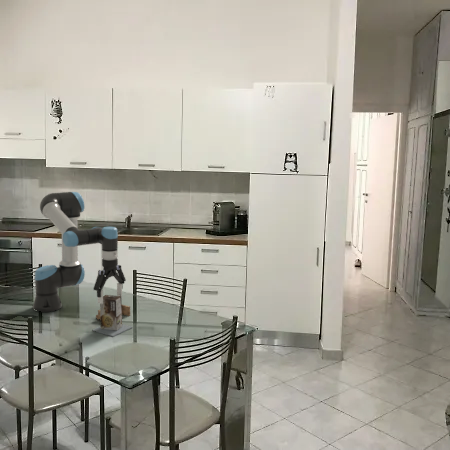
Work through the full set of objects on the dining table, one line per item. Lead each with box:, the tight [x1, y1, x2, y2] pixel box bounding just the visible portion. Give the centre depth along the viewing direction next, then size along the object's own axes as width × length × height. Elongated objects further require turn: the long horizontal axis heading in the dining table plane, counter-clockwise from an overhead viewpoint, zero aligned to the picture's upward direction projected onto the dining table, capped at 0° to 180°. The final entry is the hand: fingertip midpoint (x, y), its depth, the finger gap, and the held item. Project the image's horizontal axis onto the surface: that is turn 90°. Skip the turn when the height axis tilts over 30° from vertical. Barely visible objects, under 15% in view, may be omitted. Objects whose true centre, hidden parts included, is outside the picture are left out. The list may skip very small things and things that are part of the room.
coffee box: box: [99, 294, 123, 331], centre depth 255 cm, size 9×6×16 cm
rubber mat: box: [92, 323, 134, 338], centre depth 256 cm, size 14×14×1 cm
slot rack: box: [95, 304, 131, 321], centre depth 272 cm, size 12×14×5 cm
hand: (110, 299), depth 254 cm, fingers open, 13 cm apart
